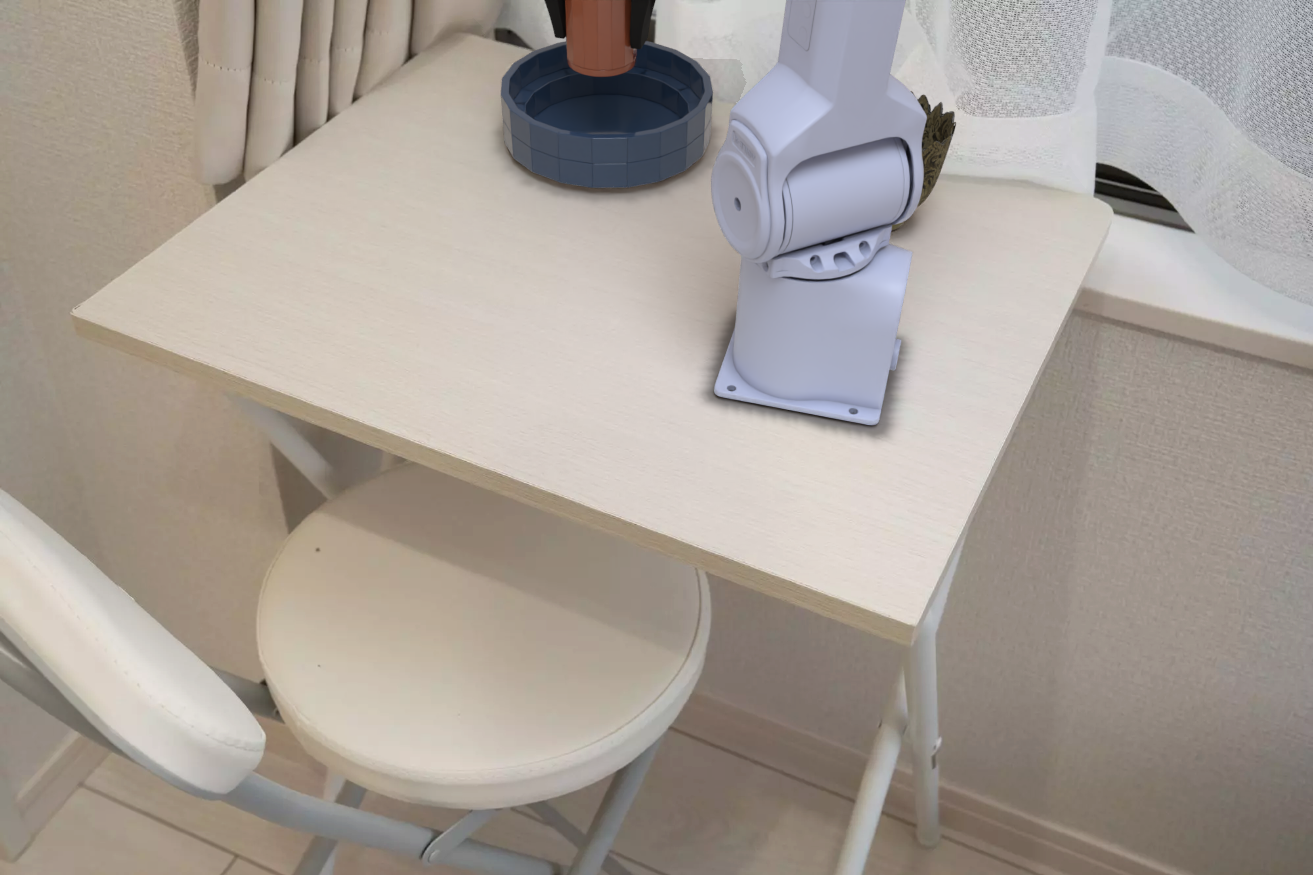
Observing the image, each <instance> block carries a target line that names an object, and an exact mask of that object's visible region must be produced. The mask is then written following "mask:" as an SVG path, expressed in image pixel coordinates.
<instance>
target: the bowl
mask: <svg viewBox="0 0 1313 875" xmlns="http://www.w3.org/2000/svg"><path fill="white" fill-rule="evenodd" d="M500 83H501V84H500V107H501V117H502V118H501V119H502V131H503V142H504V144H505V146H506V148H507V150H508V151H509V153H510V154H511V156H512V158H513V159H514V160H515V161H516V162H518V163H519V164H520V165H522V166H523V167H525V168H526V169H527V170H528V171H530V172H532V173H534V174H536V175H538V176H541V177H543V178H547V179H549V180H552V181H554V182H557V183H560V184H564V185H569V186H570V185H571V186H578V187H584V188H588V189H589V188H590V189H613V188H614V189H619V188H621V189H625V188H626V189H629V188H633V187H639V186H643V185H649V184H654V183H655V184H656V183H659V182H662V181H664V180H667V179H669V178H671V177H674V176H677V175H679V174H681V173H683V172H685V171H687V170H688V169H689V168H690V167H692V166H693V165H694V164H695V163H697V162H698V161H699V160H700V159H701V158H703V156H704V154H705V152H706V150H707V148H708V146H709V143H710V141H711V135H712V119H713V118H712V116H713V102H714V101H713V100H714V90H713V89H714V88H713V85H712V79H711V76H710V75H709V73H708V72H707V71H706V70H705V68H704V67H702V65H701V64H700V63H699V62H698V61H697V60H696V59H693V58H692V57H690V56H688V55H686V54H685V53H683V52H682V51H680V50H678V49H675V48H672V47H669V46H666V45H663V44H660V43H656V42H652V41H649V40H646V42H645V43H644V45H643V47H642V48H641V49H637V56H636V63H635V66H634V67H633V68H632V69H631V70H629V71H627V72H625V73H623V74H620V75H616V76H609V77H594V76H588V75H584V74H581V73H578V72H576V71H574V70H573V69H571V68H570V67H569V65H568V63H567V53H566V40H565V41H560V42H557V43H553V44H549V45H547V46H544V47H542V48H541V47H540V48H538V49H536V50H532V51H531V52H529V53H528V54H526V55H524V56H522V57H520V58H519V59H517V60H516V61H515V62H513V63H512V64H511V66H510V67H509V68H508V69H507V71H506V72H505V73H504V75H503V76H502V77H501V82H500Z"/></svg>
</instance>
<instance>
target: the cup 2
mask: <svg viewBox="0 0 1313 875" xmlns="http://www.w3.org/2000/svg"><path fill="white" fill-rule="evenodd" d="M910 91H911V92H912V93H913V95H914V96H915V97H916V95H915V93H914V92H913V91H912V90H910ZM916 99H917V100H918V102H919V104H920V105H921V107H922V109H923V110H924V112H925V114H926V116H927V120H926V124H925V128H924V132H923V137H922V159H923V168H924V178H923V186H922V193H921V197H920V200H919V203H918V205H917V208H918V207H920V206H921V205H922V204H923V203H924V202H925V201H926V200H927V199H928V198H929V196H930V195H931V193H932V192H933V190H934V188H935V186H936V184H937V182H938V179H939V177H940V174H941V172H942V169H943V166H944V163H945V160H946V157H947V155H948V152H949V148H950V146H951V143H952V140H953V137H954V134H955V130H956V128H957V122H956V121H955V117H956V115H955V114H956V112H955V111H953V110H949V111H946V112H944V107H943V106H944V104H943V102H942V101H940V102H938V104H935V105H934V107H933V108H932V106H931V104H930V103H929V99H928V97H927V95H926V94H921V95H920V97H918V98H916ZM943 112H944V113H943ZM906 221H907V220H905V221H904V222H902V223H899V224H895V225H892V229H891V232H892V231H895V230H897V229H899V228H901V227H902V226H903V225H904V224H905V222H906Z"/></svg>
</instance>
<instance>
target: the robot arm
mask: <svg viewBox="0 0 1313 875" xmlns="http://www.w3.org/2000/svg"><path fill="white" fill-rule="evenodd" d="M656 1H657V0H631V20H630V46H631V48H633V49H641V48H642V47H643V45H644V43H645V42H646V41H648V39H649V32H650V26H651V22H652V17H653V12H654V8H655V4H656ZM906 1H907V0H785V7H784V14H783V20H782V27H781V34H780V35H781V36H780V43H779V50H778V58H777V62H776V63H775V65H774V66H773V67H771V69H770V70H769V71H768V72H767V74H765V75H764V76H763V77H762V78H760V80H759V81H757V83H756V84H755V85H753V86H752V87H751V88H750V89H749V90H748V91H747V92H746V93H745V94H744V95H743V96H742V97H741V98H740V99H739V100H738V101H737V102H736V103H735V104H734V105H733V106H732V108H731V109H730V112H729V120H728V128H727V133H726V136H725V140H724V142H723V143H722V146H721V147H720V149H719V151H718V152H717V155H716V158H715V162H714V163H713V167H712V171H711V176H710V194H711V202H712V207H713V211H714V215H715V218H716V221H717V224H718V227H719V229H720V231H721V233H722V235H723V237H724V238H725V240H726V241H727V243H728V244H729V246H730V247H731V248H732V249H733V250H735V251H736V253H738V255H739V256H740V264H739V265H740V266H739V275H738V288H737V290H738V291H737V300H736V312H735V324H734V328H733V331H732V334H731V337H730V339H729V342H728V346H727V348H726V352H725V354H724V357H723V360H722V363H721V366H720V368H719V371H718V374H717V377H716V380H715V382H714V388H713V392H714V395H716V396H718V397H720V398H725V399H730V400H735V401H741V402H746V403H752V404H756V405H761V406H767V407H773V408H776V409H777V408H778V409H783V410H789V411H793V412H800V413H804V414H810V415H813V416H814V415H815V416H820V417H825V418H830V419H836V420H840V421H847V422H852V423H857V424H862V425H867V426H875V425H878V423H879V422H880V419H881V415H882V409H883V403H884V399H885V394H886V389H887V384H888V379H889V374H890V371H896V369H897V365H898V360H899V354H900V351H901V350H900V349H901V344H902V339H901V338H897V336H898V331H899V330H898V329H899V326H900V322H901V321H900V320H901V314H902V311H903V305H904V301H905V295H906V290H907V286H908V280H909V274H910V270H911V265H912V259H913V253H914V252H913V251H911V250H909V249H907V248H903V247H899V246H897V245H895V244H893V243H890V241H891V240H890V239H891V235H892V231H891V229H892V225H895V224H899V223H902V222H904V221H905V220H906V221H907V220H908V219H910V218H911V216H913V214H914V213H915V211H916V210H917V208H918V207H917V205H918V203H919V200H920V197H921V193H922V186H923V178H924V168H923V159H922V137H923V132H924V128H925V124H926V120H927V116H926V114H925V112H924V110H923V109H922V107H921V105H920V104H919V102H918V100H917V99H918V98H917V97H916V95H915V94H914V95H915V96H914V95H913V93H914V92H913V91H912V90H910V89H909V88H908V87H907V86H906V85H905V84H904V83H903V82H902V81H901V80H899V79H898V78H897V77H895V76H894V75H892V74H891V71H892V67H893V62H894V57H895V53H896V48H897V43H898V38H899V35H900V29H901V24H902V21H903V16H904V11H905V6H906ZM544 4H545V6H546V9H547V12H548V16H549V19H550V22H551V27H552V30H553V35H554V38H555V39H562V40H565V39H566V28H565V2H564V0H544ZM911 91H912V92H913V93H912V92H911ZM906 221H905V222H906ZM905 222H904V223H905Z"/></svg>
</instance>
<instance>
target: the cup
mask: <svg viewBox="0 0 1313 875" xmlns="http://www.w3.org/2000/svg"><path fill="white" fill-rule="evenodd" d="M564 2H565V28H566V37H565V41H566V53H567V63H568V65H569V67H570V68H571V69H573V70H574V71H576V72H578V73H581V74H584V75H588V76H594V77H609V76H616V75H620V74H623V73H625V72H627V71H629V70H631V69H632V68H633V67H634V66H635V63H636V56H637V49H633V48H631V46H630V20H631V0H564Z"/></svg>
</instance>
